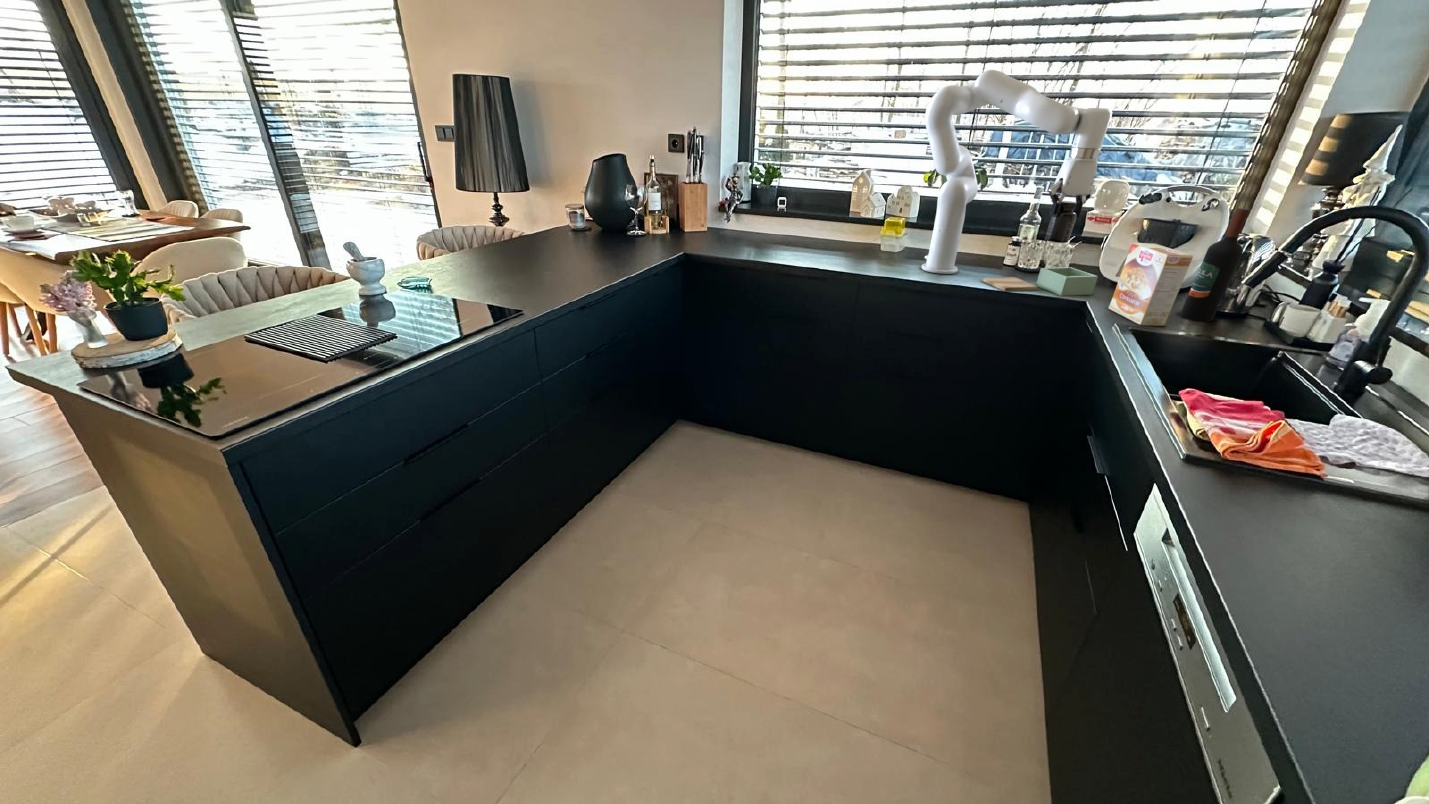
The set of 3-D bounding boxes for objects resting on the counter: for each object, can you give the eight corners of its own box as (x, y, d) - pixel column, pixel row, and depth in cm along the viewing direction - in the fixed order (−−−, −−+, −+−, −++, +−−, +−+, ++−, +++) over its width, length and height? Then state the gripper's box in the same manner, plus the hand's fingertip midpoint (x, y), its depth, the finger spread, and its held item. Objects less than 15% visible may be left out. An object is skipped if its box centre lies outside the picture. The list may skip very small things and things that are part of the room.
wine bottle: (1214, 323, 156) (1265, 212, 142) (1181, 318, 160) (1227, 209, 146) (1210, 316, 162) (1259, 208, 148) (1178, 311, 166) (1223, 206, 152)
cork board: (982, 281, 191) (983, 277, 191) (1013, 280, 193) (1014, 276, 193) (1004, 291, 181) (1005, 287, 180) (1037, 290, 183) (1038, 286, 182)
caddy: (1035, 285, 188) (1040, 268, 185) (1065, 284, 190) (1071, 267, 187) (1060, 295, 178) (1066, 277, 175) (1091, 294, 180) (1098, 276, 177)
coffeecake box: (1107, 308, 167) (1131, 242, 158) (1131, 309, 167) (1156, 243, 157) (1139, 325, 153) (1167, 254, 144) (1165, 326, 153) (1195, 255, 144)
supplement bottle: (1062, 239, 181) (1074, 200, 175) (1072, 244, 175) (1085, 204, 169) (1040, 238, 181) (1052, 199, 176) (1049, 242, 175) (1062, 202, 170)
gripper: (1098, 154, 171) (1078, 214, 179) (1049, 152, 168) (1031, 214, 176) (1118, 156, 165) (1096, 218, 173) (1068, 155, 161) (1048, 218, 170)
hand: (1063, 216), depth 174 cm, fingers closed on supplement bottle, 6 cm apart
